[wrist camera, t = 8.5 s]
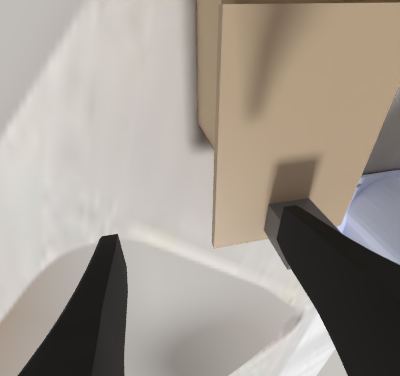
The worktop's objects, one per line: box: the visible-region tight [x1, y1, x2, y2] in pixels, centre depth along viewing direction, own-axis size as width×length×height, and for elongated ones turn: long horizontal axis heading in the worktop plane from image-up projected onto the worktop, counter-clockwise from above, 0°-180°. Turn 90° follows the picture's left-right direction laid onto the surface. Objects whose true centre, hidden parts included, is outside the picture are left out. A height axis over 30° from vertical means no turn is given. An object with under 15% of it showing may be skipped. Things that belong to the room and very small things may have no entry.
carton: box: [196, 0, 400, 151], centre depth 14 cm, size 14×10×5 cm
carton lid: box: [212, 2, 400, 269], centre depth 14 cm, size 14×10×4 cm
